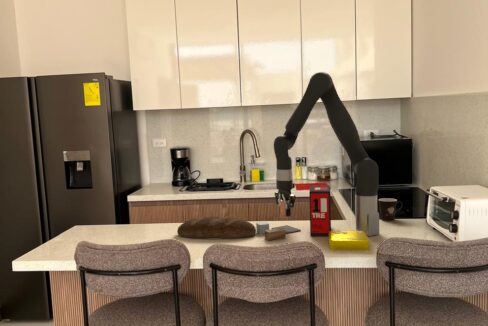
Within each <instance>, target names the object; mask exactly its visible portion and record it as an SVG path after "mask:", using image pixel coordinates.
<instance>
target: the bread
mask: <svg viewBox="0 0 488 326" xmlns="http://www.w3.org/2000/svg"><path fill="white" fill-rule="evenodd" d="M176 232H177V235H178V236H180V237H184V238H185V237H186V238H189V239H190V238H192V239H205V238H221V240H222V239H223V240H224V239H240V238H241V239H243V238H250V237H253V236H255V235H256V233H257V228H256V226H255V225H254V224H253V223H251V222H249V221H247V220H244V219H239V218H236V217H231V216H230V217H220V216H206V217H200V218H198V217H197V218H192V219H189V220H186V221H184V222H183V223H181V224H180V225H179V226H178V228H177V231H176Z"/></svg>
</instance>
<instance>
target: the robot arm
mask: <svg viewBox="0 0 488 326" xmlns="http://www.w3.org/2000/svg"><path fill="white" fill-rule="evenodd" d="M332 78H333V77H332V76H331V75H330V74H329V73H328V72H326V71H319V72H314V74H312V75H311V77H310V78H309V82H308V84H307V86H306V89H305V91H304V93H303V96H302V98H301V99H300V101H299V103H298V105H297V106H296V108H295V109H294V111H293V113H292V114H291V116H290V117H289V119H288V120H287V122H286V124H285V127H284V128H285V131H284V133H283V134H282V135H278V136H276V138H274V141H273V150H274V156H275V159H276V162H275V163H276V172H275V173H276V177H275V178H276V181H275V182H276V183H275V184H276V189H277V190H278V191H275V192H274V198H275V203H276V205H277V206H278V207H279V212H278V213H280V201H281V200H283V201H284V204H285V206H286V216H287V217H289V216H290V217H291V216H292V215H291V214H292V212H291V211H292V210H291V209H292V208H295V202H296V197H297V196H296V194H295V195H294V194H292V190H293V187H294V186H293V185H294V183H293V182H294V181H293V179H294V178H293V160H292V158H291V156H289V155H290V154H289V150H291V149H292V148H293V147H294V145H295V143H296V141H297V139H298V136H299V134H300V132H301V131H302V129H303V127H304V126H305V124H306V123H307V121H308V119H309V117H310V115H311V112H312V111H313V109H314V106H315V105H316V104H317V102H318V101H319V100H321V102H322V104H323V106H324V108H325V111H326V114H327V115H326V116H327V118H328V122H329V124H330V126H331V129H332V131H333V132H334V134H335V136H336V138H337V139H338V141H339V142H340V144H341V146H342V147H343V149H344V150H345V153H346V154H347V156H348V158H349V160H350V161H349V162H350V164H351V165H352V169H353V172H354V173H355V175H356V186H355V189H354V191H355V194H354V195H355V196H354V197H355V198H354V199H355V200H354V202H355V204H354V205H355V207H354V208H355V209H354V211H355V212H354V213H355V231H364V232H365V233H366V235H367V237H371V236H373V237H374V236H377V235H380V212H378V189H379V177H380V176H379V165H378V164H377V162H376V160H375V161H374V159H371V158H370V156H369V155H368V153H367V152H366V149H365V148H364V147H363V144H362V142H361V138H360V135H359V131H358V128H357V125H356V124H355V122H354V120H353V118H352V116H351V114H350V113H349V110H348V109H347V107H346V106H345V104H344V102H343V101H342V100H341V98H340V96H339V94H338V92H337V88H336V87H335V86H336V85H335V84H334V81H333V79H332ZM287 201H288V202H287ZM287 203H288V204H287Z"/></svg>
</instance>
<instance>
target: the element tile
mask: <svg viewBox="0 0 488 326" xmlns="http://www.w3.org/2000/svg"><path fill="white" fill-rule="evenodd" d="M328 245H329V246H328V247H329V250H332V251H361V252H363V251H364V252H366V251H369V250H370V240H369V236H367V235H366V233H365V232H364V231H356V230H339V229H335V230H331V231H329V237H328Z"/></svg>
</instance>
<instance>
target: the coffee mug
mask: <svg viewBox="0 0 488 326" xmlns="http://www.w3.org/2000/svg"><path fill="white" fill-rule="evenodd" d="M399 203H400V204H401V206H400V208H398V209H397V204H399ZM378 205H379V216H380V220H381V221H383V222H393V221H395V219H396V214H397V213H399V211H401V209H403V206H404V204H403V202H402V201H398V199H395V198H389V197H388V198H386V197H385V198H384V197H383V198H379V199H378Z"/></svg>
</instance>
